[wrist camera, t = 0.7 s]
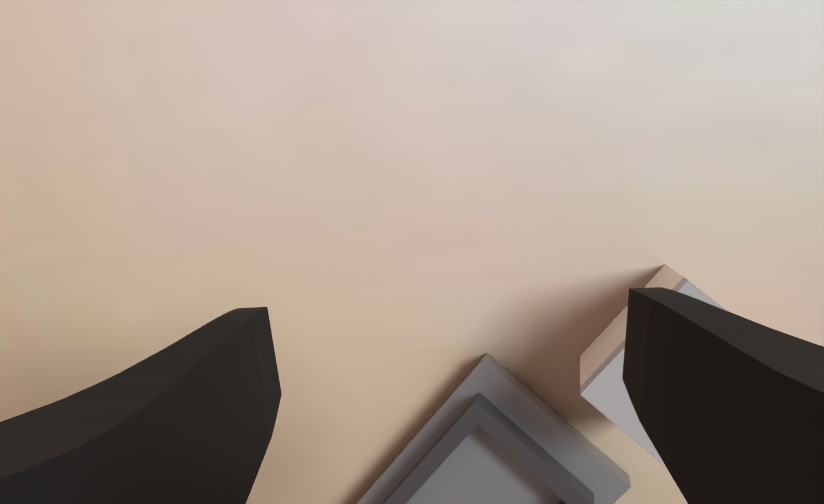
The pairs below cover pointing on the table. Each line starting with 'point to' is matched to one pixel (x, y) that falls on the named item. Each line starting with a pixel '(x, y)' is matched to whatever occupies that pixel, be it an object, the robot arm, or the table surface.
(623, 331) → the plug
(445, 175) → the table surface
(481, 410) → the grey rectangular tray
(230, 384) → the robot arm
